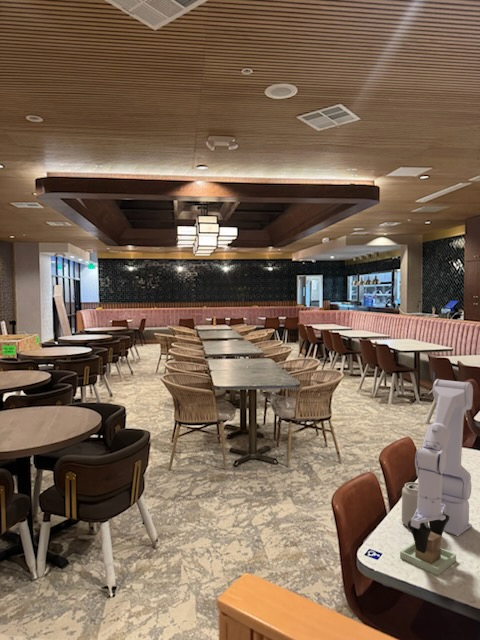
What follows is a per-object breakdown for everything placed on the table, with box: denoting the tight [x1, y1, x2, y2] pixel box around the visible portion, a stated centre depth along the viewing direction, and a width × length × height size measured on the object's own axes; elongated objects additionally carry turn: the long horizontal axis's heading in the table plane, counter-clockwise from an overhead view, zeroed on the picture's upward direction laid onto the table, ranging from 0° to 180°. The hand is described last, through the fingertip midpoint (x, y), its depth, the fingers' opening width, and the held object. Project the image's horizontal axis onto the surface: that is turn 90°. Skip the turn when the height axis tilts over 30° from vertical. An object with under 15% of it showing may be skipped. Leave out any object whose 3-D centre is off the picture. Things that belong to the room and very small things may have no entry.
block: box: [415, 532, 442, 564], centre depth 118 cm, size 4×4×6 cm
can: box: [401, 481, 429, 528], centre depth 136 cm, size 8×8×12 cm
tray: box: [399, 541, 457, 576], centre depth 118 cm, size 10×10×2 cm
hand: (428, 546), depth 118 cm, fingers open, 7 cm apart
